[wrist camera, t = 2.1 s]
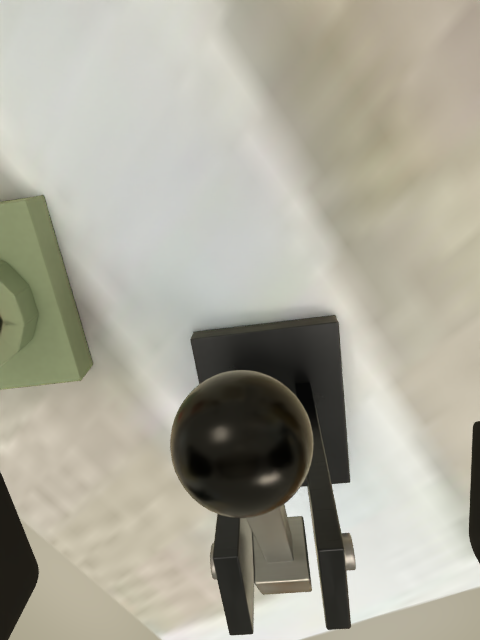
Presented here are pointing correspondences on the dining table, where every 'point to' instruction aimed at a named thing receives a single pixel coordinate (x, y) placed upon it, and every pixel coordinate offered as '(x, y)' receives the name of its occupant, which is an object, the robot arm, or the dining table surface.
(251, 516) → the lever
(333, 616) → the bracket
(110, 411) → the dining table surface
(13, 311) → the control block
